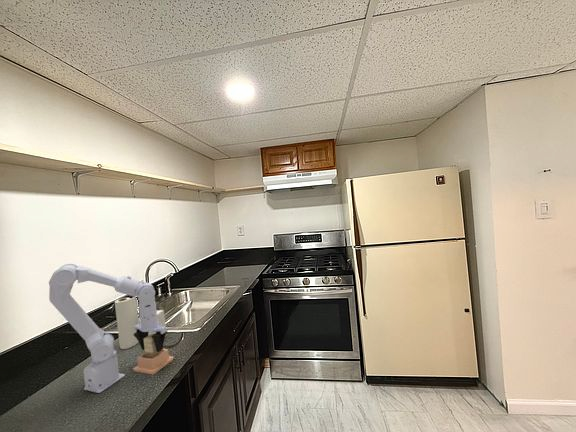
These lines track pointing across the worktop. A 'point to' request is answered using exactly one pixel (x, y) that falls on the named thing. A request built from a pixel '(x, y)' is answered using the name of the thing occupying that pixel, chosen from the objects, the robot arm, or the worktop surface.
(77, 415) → the worktop surface
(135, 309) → the paper towel roll
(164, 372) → the worktop surface
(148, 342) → the birch peg
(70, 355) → the worktop surface
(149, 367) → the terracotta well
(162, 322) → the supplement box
